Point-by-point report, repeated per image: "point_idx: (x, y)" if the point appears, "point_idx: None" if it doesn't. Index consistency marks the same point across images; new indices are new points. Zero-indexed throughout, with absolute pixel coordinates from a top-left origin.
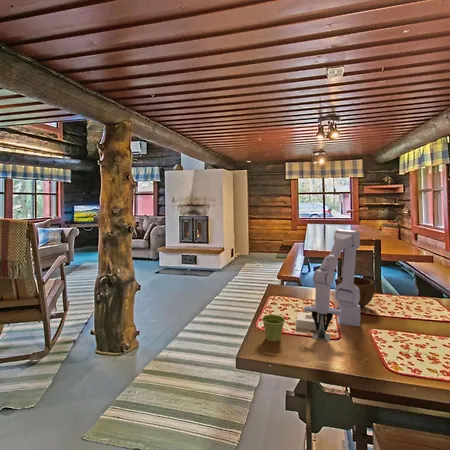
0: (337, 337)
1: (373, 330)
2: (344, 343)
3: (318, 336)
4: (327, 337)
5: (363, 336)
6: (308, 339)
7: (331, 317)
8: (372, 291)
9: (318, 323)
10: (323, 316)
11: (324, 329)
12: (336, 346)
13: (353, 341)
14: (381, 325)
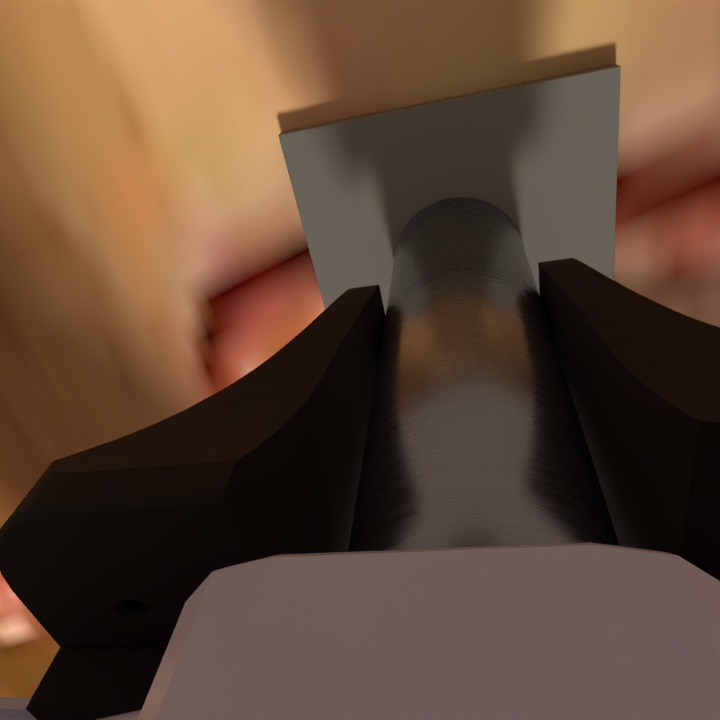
0: (237, 348)
1: (6, 610)
2: (84, 201)
3: (507, 218)
4: (358, 267)
5: (6, 482)
6: (704, 31)
7: (20, 504)
8: None
9: (556, 363)
10: (404, 543)
11: (394, 300)
12: (137, 3)
13: (22, 321)
14: (7, 689)
